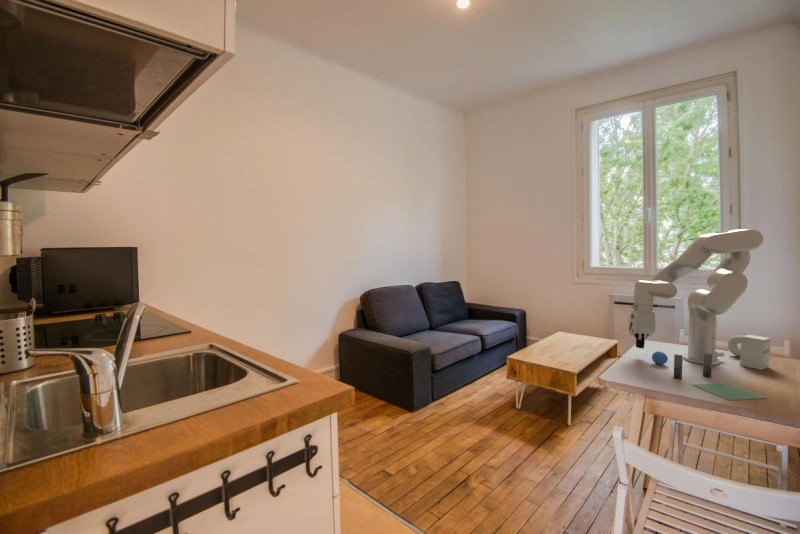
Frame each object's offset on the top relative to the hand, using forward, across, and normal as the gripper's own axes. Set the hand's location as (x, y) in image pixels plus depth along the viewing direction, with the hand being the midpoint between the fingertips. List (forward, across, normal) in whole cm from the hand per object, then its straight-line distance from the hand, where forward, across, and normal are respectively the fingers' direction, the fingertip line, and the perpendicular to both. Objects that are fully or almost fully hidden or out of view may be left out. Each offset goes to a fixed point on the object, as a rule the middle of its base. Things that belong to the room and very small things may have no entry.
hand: (639, 347), depth 173 cm
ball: (+2, +1, -10) cm, 11 cm away
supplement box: (+3, +38, -18) cm, 42 cm away
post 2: (+4, +8, -26) cm, 28 cm away
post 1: (+4, -5, -26) cm, 27 cm away
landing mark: (+4, +1, -40) cm, 41 cm away
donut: (+3, +45, -6) cm, 46 cm away
